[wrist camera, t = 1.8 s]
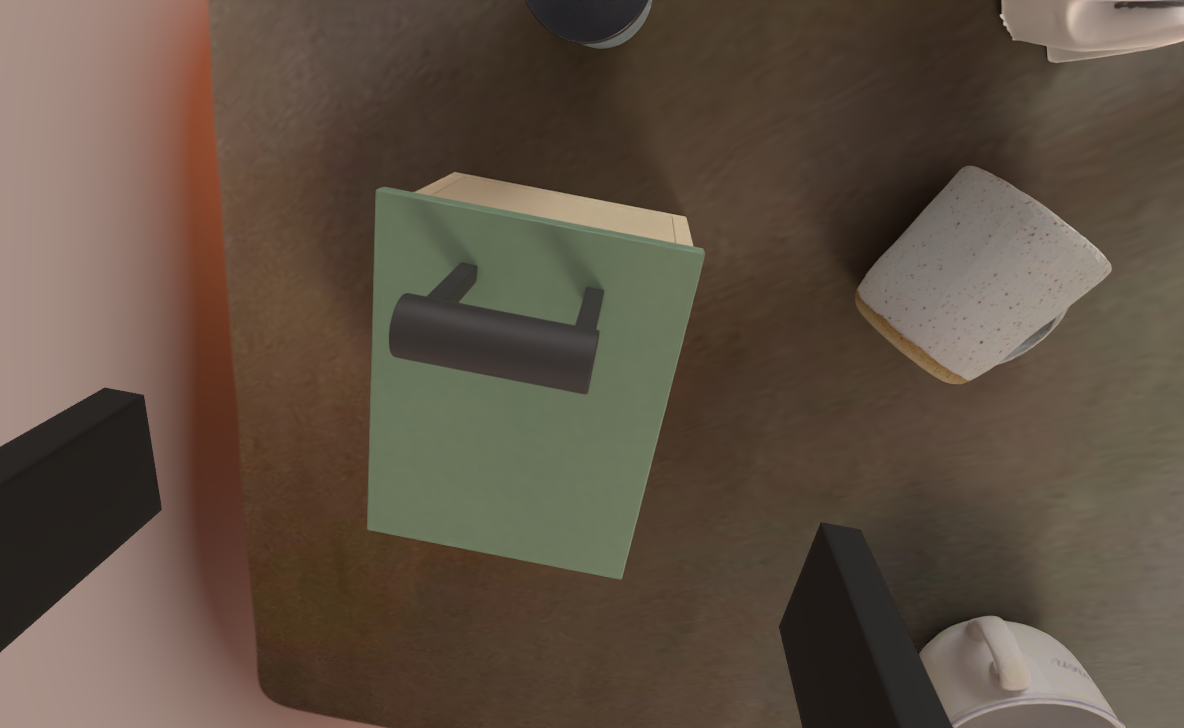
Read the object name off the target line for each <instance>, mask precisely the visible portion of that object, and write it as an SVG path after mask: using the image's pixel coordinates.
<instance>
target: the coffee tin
mask: <svg viewBox="0 0 1184 728" xmlns="http://www.w3.org/2000/svg"><path fill="white" fill-rule="evenodd" d="M525 2H526V4H527V6H528V8H529V9H530V11H531V13H532V14H533V15H534V17H535V18H536V19H537V20H538V22H539V23H540V24H542V25H543V26H544V27H545V28H546V29H547V30H549V31H550V32H551V33H553V34H555V35H556V36H558V37H560V38H562V39H565V40H568V41H570V42H574V43H579V44H583V45H585V46H588V47H592V48H600V49H603V48H611V47H615V46H617V45H620V44H622V43H624V42H626V41H627V40H629V39H630V38H631V37H632V36H633V35H634V34H636V33H637V31H638V30H639V29H640V28H641V26H642V25H643V23H644V22H645V20H646V18H647V16H648V14H649V11H650V8H651V4H652V0H525Z"/></svg>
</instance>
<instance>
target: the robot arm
mask: <svg viewBox="0 0 1184 728" xmlns="http://www.w3.org/2000/svg"><path fill="white" fill-rule="evenodd" d="M157 483H158V482H157V476H156V469H155V463H154V457H153V450H152V444H151V438H150V432H149V425H148V418H147V412H146V406H145V399H144V395H141V394H136V393H130V392H125V391H120V390H114V389H109V388H103V389H102V390H100V391H98V392H97V393H95V394H93V395H91V396H89V397H87V398H86V399H84V400H83V401H80V402H78V403H77V404H75V405H73V406H71V407H70V408H68V409H66V410H64V411H63V412H61V413H59V414H57V415H56V416H54V417H52V418H50V419H49V420H47V421H45V422H43V423H41V424H40V425H38V426H36V427H34V428H33V429H31V430H29V431H27V432H26V433H24V434H22V435H20V436H19V437H17V438H15V439H13V440H11V441H10V442H8V443H6V444H4V445H3V446H1V447H0V652H1V651H2V650H3V649H4V648H6V647H7V646H8V645H9V644H10V643H11V642H12V641H14V640H15V639H16V638H17V637H18V636H19V635H20V634H22V633H23V632H24V631H25V630H26V629H27V628H28V627H29V626H31V625H32V624H33V623H34V622H35V621H36V620H37V619H39V618H40V617H41V616H42V615H43V614H44V613H45V612H46V611H48V610H49V609H50V608H51V607H52V606H53V605H54V604H55V603H56V602H58V601H59V600H60V599H61V598H62V597H63V596H65V595H66V594H67V593H68V592H69V591H70V590H71V589H72V588H74V587H75V586H76V585H77V584H78V583H79V582H80V581H82V580H83V579H84V578H85V577H86V576H87V575H88V574H90V573H91V572H92V571H93V570H94V569H95V568H96V567H97V566H98V565H100V564H101V563H102V562H103V561H104V560H105V559H107V558H108V557H109V556H110V555H111V554H112V553H113V552H114V551H116V550H117V549H118V548H119V547H120V546H121V545H122V544H124V543H125V542H126V541H127V540H128V539H129V538H130V537H131V536H133V535H134V534H135V533H136V532H137V531H138V530H139V529H140V528H142V527H143V526H144V525H145V524H146V523H147V522H148V521H150V520H151V519H152V518H153V517H154V516H155V515H156V514H157V513H159V512H160V511H161V510H162V508H161V501H160V495H159V489H158V484H157ZM779 629H780V633H781V637H782V642H783V646H784V650H785V655H786V659H787V663H788V667H789V672H790V676H791V680H792V684H793V689H794V693H795V697H796V702H797V706H798V710H799V714H800V719H801V723H802V727H803V728H954V727H952V725H951V723H950V721H949V718H948V716H947V714H946V712H945V710H944V708H943V706H942V703H941V701H940V699H939V697H938V695H937V693H936V690H935V688H934V686H933V684H932V682H931V680H930V678H929V675H928V673H927V671H926V669H925V667H924V665H923V663H922V660H921V658H920V656H919V654H918V652H917V650H916V647H915V645H914V643H913V641H912V639H911V637H910V635H909V632H908V630H907V628H906V626H905V624H904V622H903V620H902V617H901V615H900V613H899V611H898V609H897V607H896V604H895V602H894V600H893V598H892V596H891V594H890V592H889V589H888V587H887V585H886V583H885V581H884V579H883V577H882V574H881V572H880V570H879V568H878V566H877V564H876V562H875V559H874V557H873V555H872V553H871V551H870V549H869V546H868V544H867V542H866V540H865V538H864V536H863V534H862V531H861V530H859V529H854V528H848V527H843V526H838V525H832V524H827V523H822V522H821V523H820V526H819V528H818V531H817V533H816V536H815V538H814V541H813V543H812V546H811V548H810V551H809V553H808V556H807V558H806V561H805V563H804V566H803V568H802V571H801V573H800V576H799V578H798V581H797V583H796V586H795V588H794V591H793V593H792V596H791V598H790V600H789V603H788V605H787V608H786V610H785V613H784V615H783V618H782V620H781V623H780V625H779Z"/></svg>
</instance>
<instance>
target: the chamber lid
mask: <svg viewBox="0 0 1184 728" xmlns="http://www.w3.org/2000/svg"><path fill="white" fill-rule="evenodd" d="M704 258H705V252H704V249H703V248H698V247H693V246H688V245H683V244H678V243H672V242H667V241H662V240H657V239H652V238H647V237H641V236H636V235H631V234H626V233H621V232H616V231H611V230H605V229H600V228H595V227H590V226H585V225H580V224H574V223H569V222H564V221H559V220H554V219H549V218H544V217H538V216H533V215H528V214H523V213H518V212H513V211H507V210H502V209H497V208H492V207H487V206H482V205H477V204H471V203H466V202H461V201H456V200H451V199H446V198H440V197H435V196H430V195H425V194H420V193H415V192H409V191H404V190H399V189H394V188H389V187H382V188H379V189H377V190H376V195H375V235H374V274H373V314H372V353H371V393H370V433H369V472H368V512H367V529H368V530H372V531H377V532H382V533H387V534H392V535H397V536H402V537H407V538H412V539H417V540H422V541H427V542H433V543H438V544H443V545H448V546H453V547H458V548H463V549H468V550H473V551H478V552H483V553H488V554H493V555H499V556H504V557H509V558H514V559H519V560H524V561H529V562H534V563H539V564H544V565H549V566H554V567H559V568H564V569H570V570H575V571H580V572H585V573H590V574H595V575H600V576H605V577H610V578H615V579H622V577H623V573H624V569H625V565H626V561H627V557H628V553H629V549H630V545H631V542H632V538H633V534H634V530H635V526H636V522H637V518H638V514H639V510H640V507H641V503H642V499H643V495H644V491H645V487H646V483H647V479H648V475H649V472H650V468H651V464H652V460H653V456H654V452H655V448H656V444H657V440H658V436H659V433H660V429H661V425H662V421H663V417H664V413H665V409H666V405H667V401H668V398H669V394H670V390H671V386H672V382H673V378H674V374H675V370H676V366H677V363H678V359H679V355H680V351H681V347H682V343H683V339H684V335H685V331H686V328H687V324H688V320H689V316H690V312H691V308H692V304H693V300H694V296H695V293H696V289H697V285H698V281H699V277H700V273H701V269H702V265H703V261H704Z"/></svg>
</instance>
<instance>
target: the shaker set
mask: <svg viewBox="0 0 1184 728" xmlns="http://www.w3.org/2000/svg"><path fill="white" fill-rule="evenodd" d="M1001 2H1002V14H1000V17H1001V18H1002V19H1003V20H1004V22H1003V24H1004V26H1007V27H1006V28H1007V30H1008V31H1009V33H1011V34H1010V35H1011V36H1012V37H1013V38H1012V40H1020V41H1026V42H1029V43H1034V44H1039V45H1044V46H1046V47H1047V56H1048V58H1047V59H1048V60H1049V61H1050V62H1054V63H1059V62H1068V61H1075V60H1084V59H1092V58H1099V57H1106V56H1112V55H1119V54H1124V53H1130V52H1136V51H1143V50H1148V49H1154V48H1159V47H1162V46H1166V45H1170V44H1174V43H1178V42H1181V41H1184V0H1002V1H1001Z"/></svg>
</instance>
